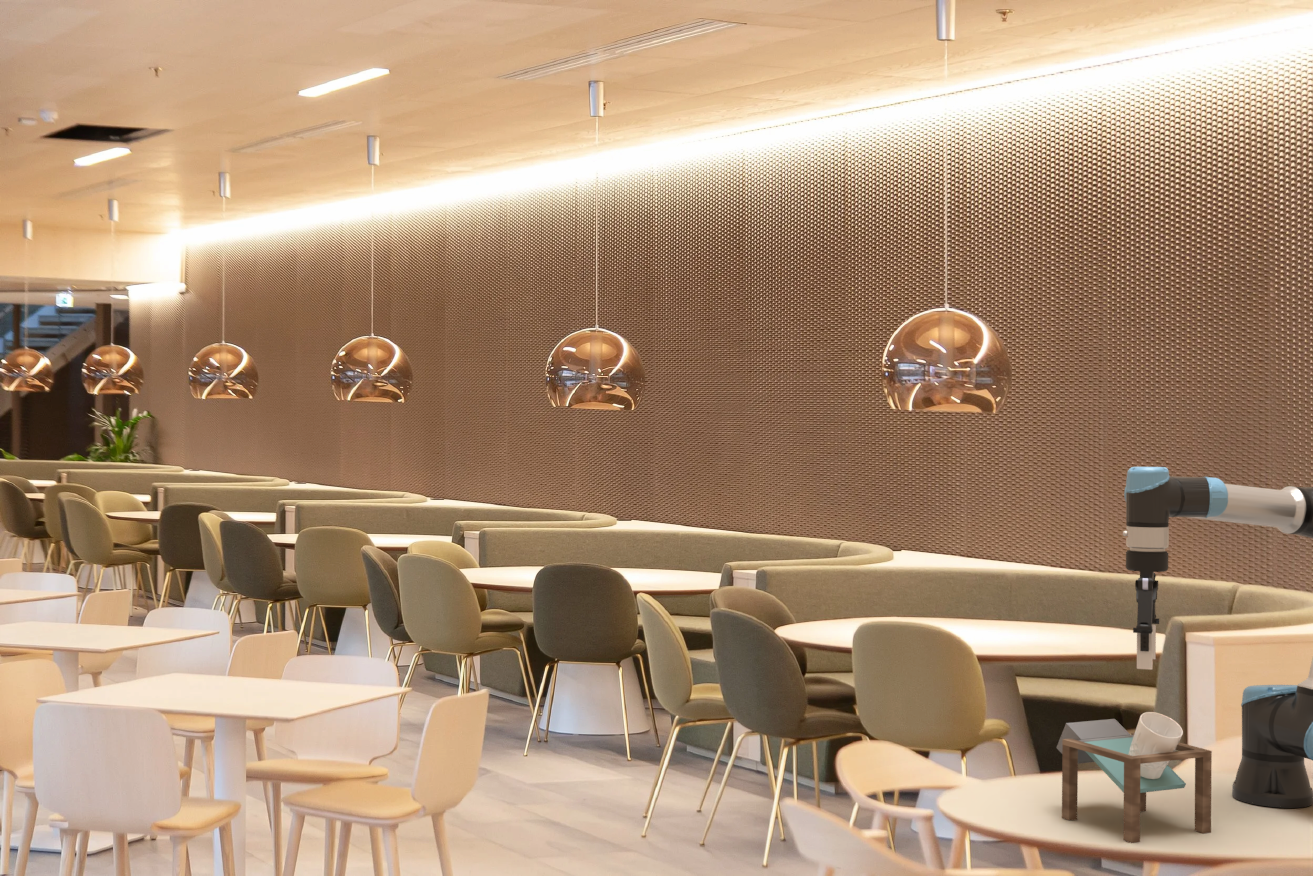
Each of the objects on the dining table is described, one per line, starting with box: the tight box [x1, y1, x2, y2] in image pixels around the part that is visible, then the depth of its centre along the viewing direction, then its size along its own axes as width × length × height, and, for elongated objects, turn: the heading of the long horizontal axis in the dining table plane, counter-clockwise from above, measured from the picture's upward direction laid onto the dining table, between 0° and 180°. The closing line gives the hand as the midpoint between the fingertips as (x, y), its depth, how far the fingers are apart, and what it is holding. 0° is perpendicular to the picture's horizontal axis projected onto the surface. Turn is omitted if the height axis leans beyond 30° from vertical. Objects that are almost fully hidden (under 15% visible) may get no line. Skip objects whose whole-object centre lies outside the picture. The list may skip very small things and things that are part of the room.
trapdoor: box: [1055, 718, 1187, 794], centre depth 280 cm, size 14×20×7 cm
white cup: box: [1128, 711, 1184, 779], centre depth 273 cm, size 8×8×10 cm
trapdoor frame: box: [1061, 732, 1213, 844], centre depth 275 cm, size 19×19×15 cm
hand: (1146, 664), depth 273 cm, fingers open, 13 cm apart
